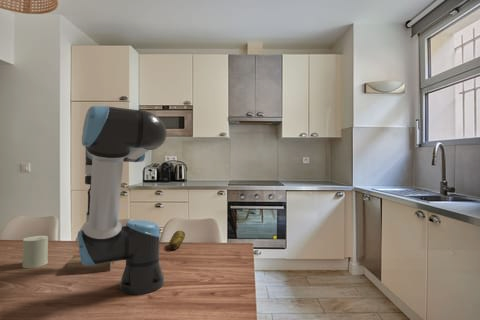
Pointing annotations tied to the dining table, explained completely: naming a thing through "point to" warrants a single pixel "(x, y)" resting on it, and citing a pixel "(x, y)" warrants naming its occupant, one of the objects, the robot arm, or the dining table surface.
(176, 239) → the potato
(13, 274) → the dining table surface
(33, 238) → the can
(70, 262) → the walnut block
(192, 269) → the dining table surface
